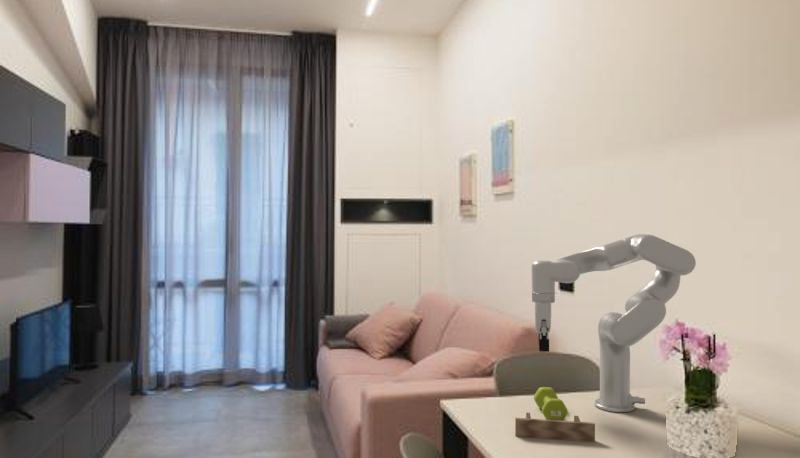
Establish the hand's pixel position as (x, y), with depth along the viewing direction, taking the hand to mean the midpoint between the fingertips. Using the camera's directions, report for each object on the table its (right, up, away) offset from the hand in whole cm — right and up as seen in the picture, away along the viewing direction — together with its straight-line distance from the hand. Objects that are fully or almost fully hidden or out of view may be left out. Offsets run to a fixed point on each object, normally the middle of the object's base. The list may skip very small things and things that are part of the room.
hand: (543, 348), depth 194 cm
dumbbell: (0, -20, -9) cm, 22 cm away
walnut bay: (-3, -20, -24) cm, 31 cm away
